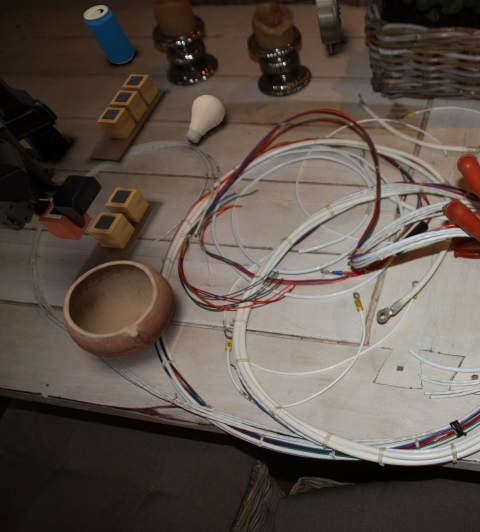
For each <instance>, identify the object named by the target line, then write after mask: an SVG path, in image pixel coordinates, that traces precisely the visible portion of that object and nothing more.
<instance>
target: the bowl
mask: <svg viewBox="0 0 480 532" xmlns="http://www.w3.org/2000/svg"><path fill="white" fill-rule="evenodd" d="M174 312H175V295H174V291H173V288H172V286H171V284H170V282H169V281H168V280H167V279H166V277H164V276H163V274H161V273H160V272H159V271H157V270H156V269H154V268H152V267H151V266H149V265H147V264H145V263H141V262H139V261H134V260H125V259H124V261H112V262H108V263H105V264H101V265H99V266H97V267H94V268H93V269H91V270H89V271H88V272H86V273H85V274H83V275H82V276H81V277H78V279H77V280H75V282H74V283H73V284H72V285H71V286H70V287H69V289H68V291H67V292H66V295H65V298H64V302H63V307H62V317H63V321H64V325H65V328H66V331H67V333H68V335H69V336H70V338H71V339H72V340H73V342H74V343H75V344H76V345H77V346H78V347H79V348H81V349H82V350H83V351H85V352H87V353H89V354H91V355H94V356H96V357H101V358H102V357H103V358H123V357H127V356H131V355H135V354H137V353H140V352H142V351H144V350H146V349H148V348H149V347H151V345H153V344H154V343H156V342H157V341H158V340H159V338H161V336H162V335H163V334H164V333H165V331H166V330H167V328H168V326H169V325H170V322H171V321H172V318H173V315H174Z"/></svg>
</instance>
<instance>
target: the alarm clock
mask: <svg viewBox="0 0 480 532" xmlns="http://www.w3.org/2000/svg"><path fill="white" fill-rule="evenodd" d="M314 2H315V11H316V17H317V18H316V19H317V23H318V24H317V25H318V30H319V34H320V39H321V43H322V44H323V45H328V47H329V51H330V55H333V54H334V51H333V44H337V43H340V42H341V41H343V42H346V40H345V38H344V37H343V31H342V25H343V23H342V18H341V13H342V11H340V10H341V6H339V2H340V1H339V0H314Z"/></svg>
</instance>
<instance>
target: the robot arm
mask: <svg viewBox="0 0 480 532" xmlns="http://www.w3.org/2000/svg"><path fill="white" fill-rule="evenodd" d="M58 118H59V117H58V116H57V114H56V113H55V112H54V110H52V108H51V107H50V106H48V105H47V104H46V103H44V102H43V101H41V100H40V99H39V98H37V97H36V98H34V97H33V96H32V95H30V94H29V92H28V91H27V90H24V89H18V88H13V87H11V86H9V84H8V83H7V82H6V81H5V80H4V79H3V78H2V77H1V76H0V230H9V231H14V232H15V231H16V232H19V231H22V230H23V229H24V228H25V226H26V224H29V223H31V222H32V220H33V217H34V215H35V216H36V217H38V218H40V217H41V216H42V214H43V213H44V211H45V210H46V209H47V207H48V206H49V204H50V203H51V202H52V201H51V200H53V206H54V208H53V209H52V210H51V212H50V213H49V214H54V215H63V216H65V217H66V218H67V219H69V220H70V221H71V222H73V223H74V224H75V225H77V226H78V227H80V228H83V227H84V226H85V224H86V222H85V216H84V214H85V213H87V212H88V210H89V209H90V207H91V206H92V204H93V202H95V200H96V198H97V196H98V195H99V194H100V192H101V190H102V189H103V187H102V184H101V182H99V181H98V180H97V178H96V177H95V176H90V175H81V174H80V175H79V174H68V175H67V176H66V178H63V179H61V180H59V181H54V180H53V178H54V177H55V175H56V174H57V172H56V171H55V170H54V169H53V168H52V167H43V165H41V164H40V163H39V162H38V160H39V161H51V162H53V161H54V162H57V161H59V160H61V158H62V156H63V155H64V154H65V152H66V151H67V150H68V148H69V147H70V146H71V144H72V143H73V142H74V139H73V138H72V137H64V136H63V135H62V133H61V132H60V131H59V129H57V128H56V127H55V125H57V119H58ZM22 140H24V141H25V142H26V143H27V144H28V145H29V146H30V147H25V146H23V144H22V143H21V142H20V141H22Z"/></svg>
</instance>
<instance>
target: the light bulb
mask: <svg viewBox="0 0 480 532" xmlns="http://www.w3.org/2000/svg"><path fill="white" fill-rule="evenodd" d="M225 115H226V110H225V106H224V104H223V103H222V101H221V100H220V99H218V98H217V97H216V96H214V95H210V94H202V95H200V96H198V97H196V99H195V100H194V101H193V103H192V106H191V121H190V124H189V126H188V127H189V129H188V130H187V132H186V134H185V138H186V139H187V141H188V142H189V143H190V144H198V143H199V142H200V140H201V139H202V137H203V136H205V135H206V133H207V132H208V131H210V130H213V129H214V128H216V127H217V126H219V125H220V124H221V123H222V122H223V120H224V117H225Z"/></svg>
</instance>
